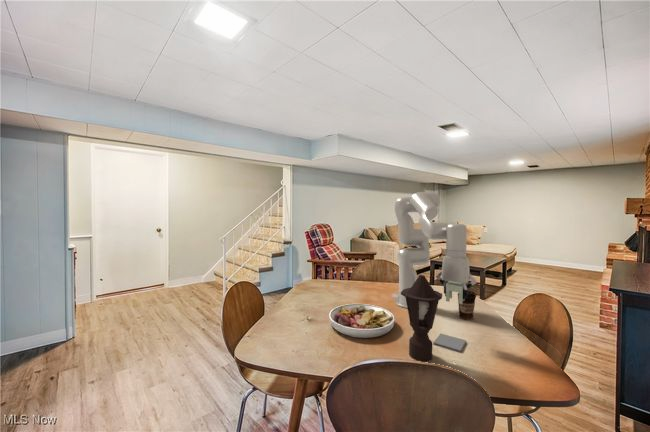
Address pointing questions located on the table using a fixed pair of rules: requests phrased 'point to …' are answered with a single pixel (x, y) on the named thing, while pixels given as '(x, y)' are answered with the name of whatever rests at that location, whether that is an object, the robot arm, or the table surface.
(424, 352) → the lantern
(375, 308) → the bowl
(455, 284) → the notched sage block
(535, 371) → the table surface
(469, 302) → the coffee cup
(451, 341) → the felt pad
